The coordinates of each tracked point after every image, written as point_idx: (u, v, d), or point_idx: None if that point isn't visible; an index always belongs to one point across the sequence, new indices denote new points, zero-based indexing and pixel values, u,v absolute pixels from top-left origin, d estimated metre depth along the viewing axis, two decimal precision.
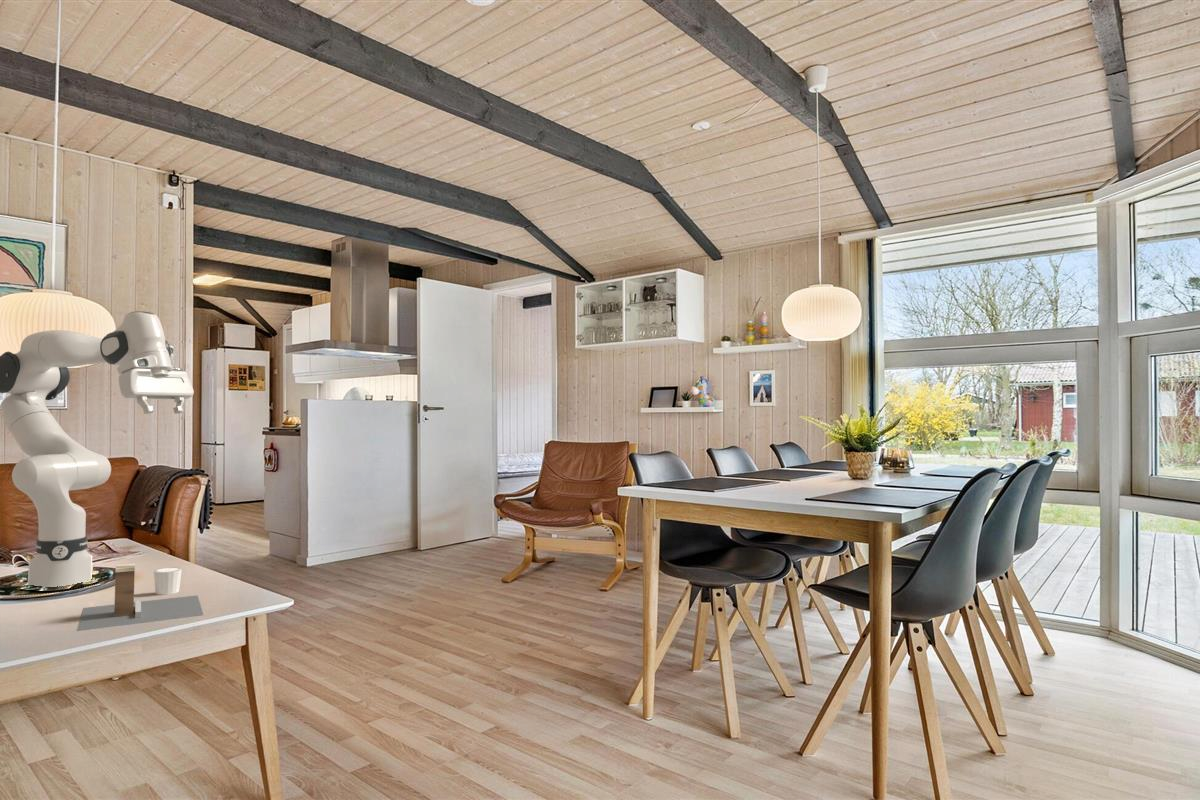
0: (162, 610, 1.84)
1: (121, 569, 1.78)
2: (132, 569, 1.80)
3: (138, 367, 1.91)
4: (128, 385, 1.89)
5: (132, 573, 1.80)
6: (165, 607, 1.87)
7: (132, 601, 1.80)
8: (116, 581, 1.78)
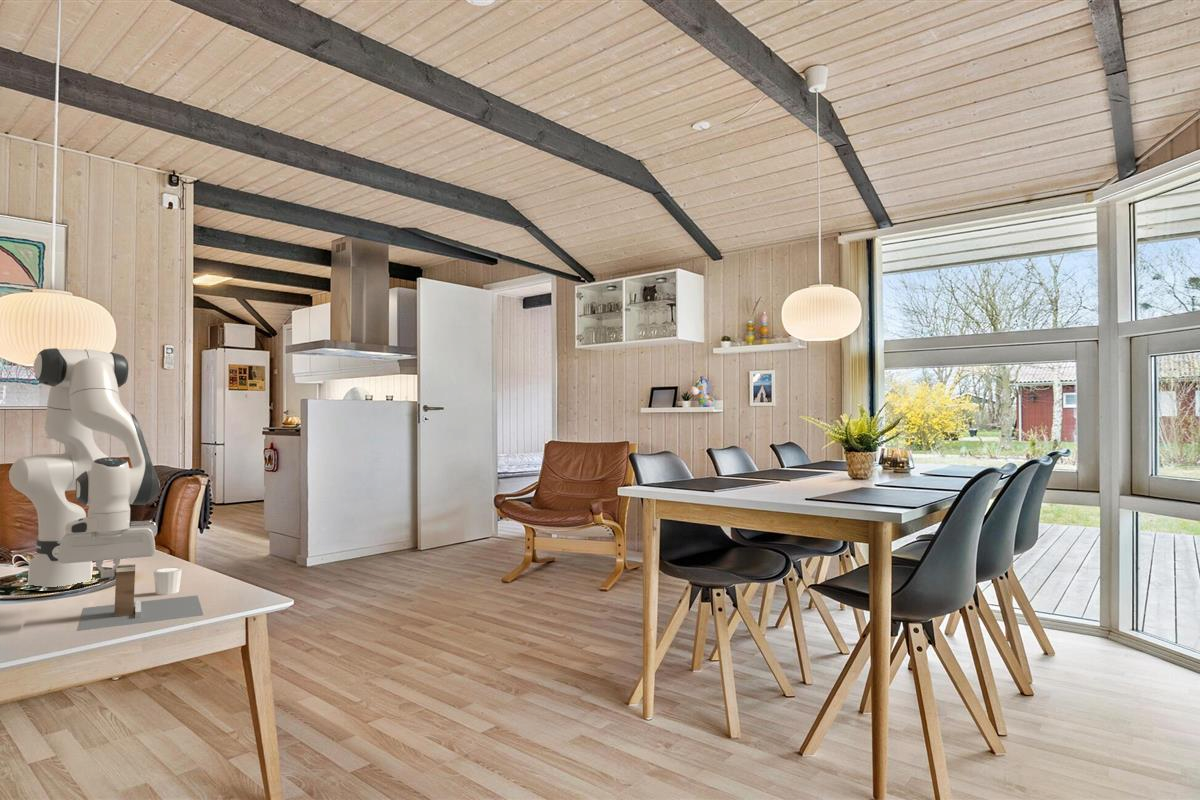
0: (162, 610, 1.84)
1: (122, 569, 1.79)
2: (133, 569, 1.80)
3: (72, 533, 1.73)
4: None
5: (133, 573, 1.80)
6: (165, 607, 1.87)
7: (132, 601, 1.80)
8: (117, 581, 1.78)
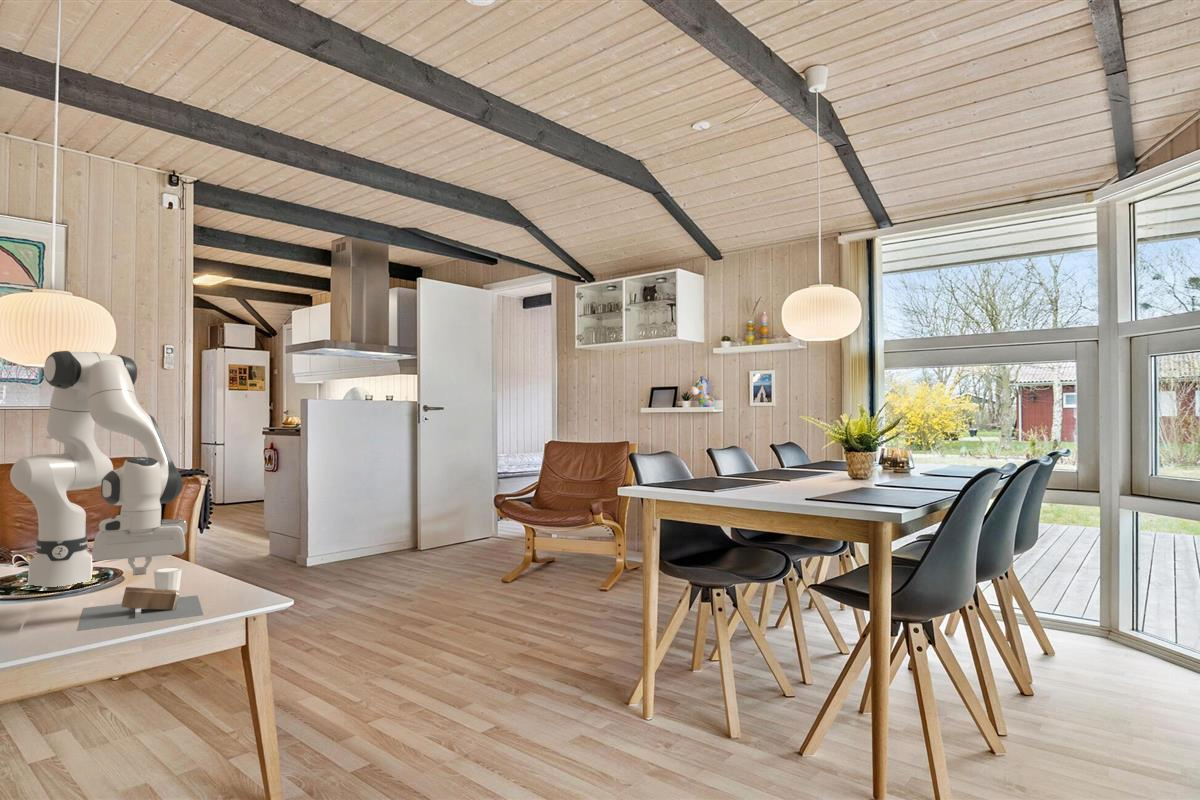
0: (162, 610, 1.84)
1: (177, 599, 1.85)
2: (174, 608, 1.85)
3: (106, 531, 1.76)
4: None
5: (169, 607, 1.84)
6: None
7: (137, 607, 1.80)
8: (165, 594, 1.84)
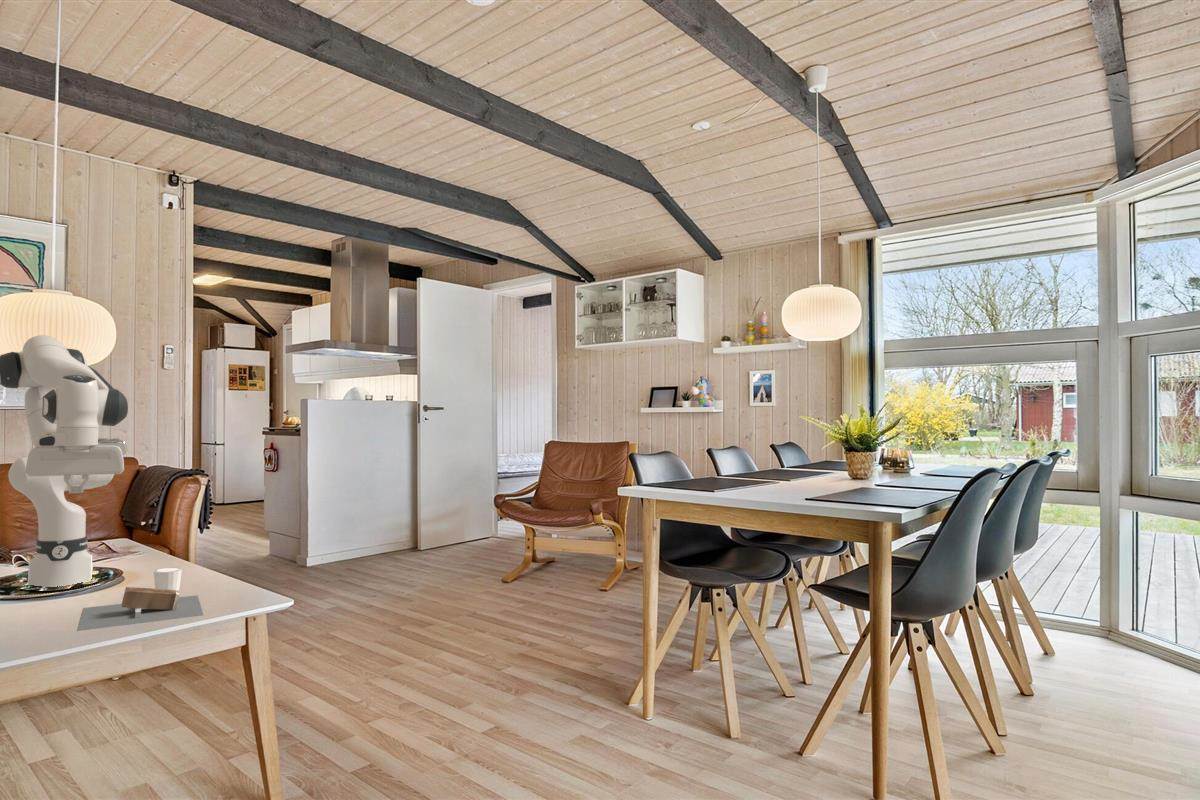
0: (162, 610, 1.84)
1: (177, 599, 1.85)
2: (174, 608, 1.85)
3: (40, 446, 1.75)
4: None
5: (169, 607, 1.84)
6: None
7: (137, 607, 1.80)
8: (165, 594, 1.84)
